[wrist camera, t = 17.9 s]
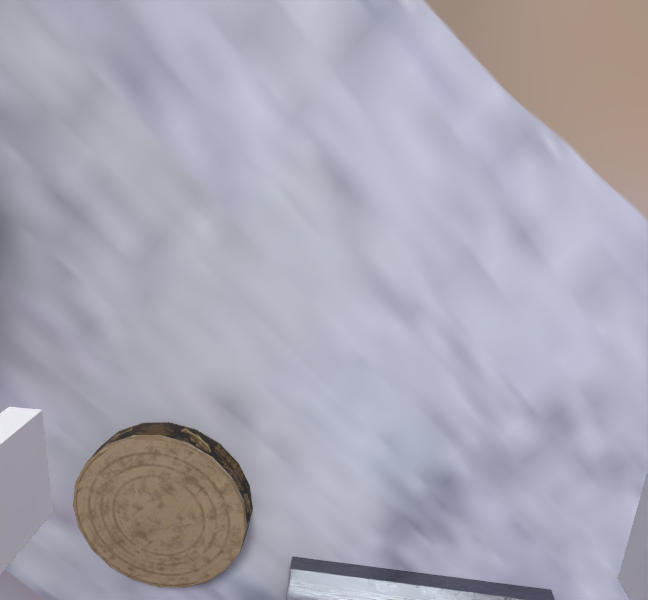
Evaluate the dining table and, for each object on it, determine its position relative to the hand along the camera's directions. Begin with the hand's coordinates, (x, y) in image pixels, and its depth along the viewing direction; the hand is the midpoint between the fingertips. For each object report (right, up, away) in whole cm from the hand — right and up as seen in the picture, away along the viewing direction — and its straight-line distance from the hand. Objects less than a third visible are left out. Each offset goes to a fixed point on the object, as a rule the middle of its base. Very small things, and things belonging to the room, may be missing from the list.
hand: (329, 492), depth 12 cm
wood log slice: (-15, -14, +39) cm, 44 cm away
